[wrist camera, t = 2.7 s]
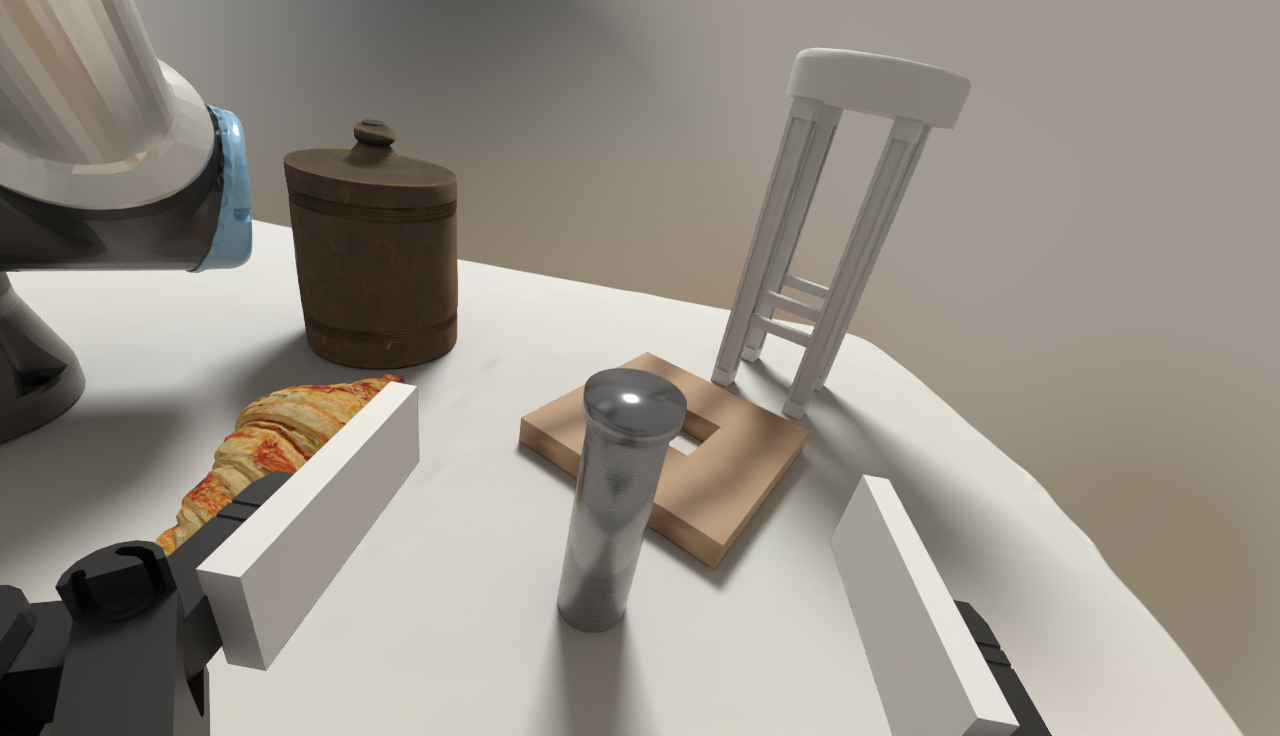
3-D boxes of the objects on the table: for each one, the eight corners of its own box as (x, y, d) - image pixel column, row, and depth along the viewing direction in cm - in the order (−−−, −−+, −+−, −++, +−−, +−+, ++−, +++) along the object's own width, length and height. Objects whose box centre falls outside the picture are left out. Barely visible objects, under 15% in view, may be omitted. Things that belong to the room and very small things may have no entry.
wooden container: (385, 298, 65) (374, 107, 55) (483, 335, 62) (491, 138, 51) (272, 338, 53) (229, 100, 42) (386, 387, 49) (370, 140, 39)
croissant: (225, 638, 31) (258, 580, 27) (65, 542, 29) (77, 466, 25) (424, 433, 49) (461, 382, 45) (333, 368, 47) (363, 308, 43)
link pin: (534, 602, 32) (562, 390, 25) (586, 554, 36) (625, 358, 29) (597, 656, 30) (650, 440, 23) (646, 598, 34) (705, 398, 27)
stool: (736, 341, 74) (823, 63, 57) (842, 385, 68) (974, 88, 51) (688, 378, 61) (780, 38, 45) (812, 436, 55) (972, 67, 39)
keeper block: (519, 440, 46) (521, 417, 45) (643, 370, 61) (647, 352, 60) (714, 569, 37) (723, 545, 36) (801, 450, 53) (809, 431, 52)
